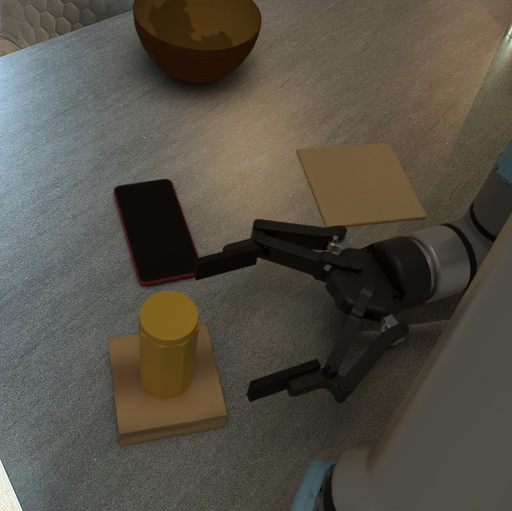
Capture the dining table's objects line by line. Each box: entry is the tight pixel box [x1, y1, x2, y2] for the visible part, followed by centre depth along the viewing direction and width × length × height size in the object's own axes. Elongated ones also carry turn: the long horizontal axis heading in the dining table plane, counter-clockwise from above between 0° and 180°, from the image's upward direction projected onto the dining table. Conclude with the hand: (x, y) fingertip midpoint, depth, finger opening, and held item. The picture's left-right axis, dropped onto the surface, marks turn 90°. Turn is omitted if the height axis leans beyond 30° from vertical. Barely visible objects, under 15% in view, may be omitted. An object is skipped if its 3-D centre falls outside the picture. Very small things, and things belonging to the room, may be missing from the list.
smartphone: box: [112, 178, 200, 286], centre depth 74 cm, size 7×1×15 cm
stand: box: [107, 323, 228, 447], centre depth 59 cm, size 10×10×8 cm
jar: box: [137, 290, 200, 399], centre depth 56 cm, size 5×5×11 cm
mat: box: [295, 142, 428, 227], centre depth 84 cm, size 14×14×1 cm
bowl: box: [132, 0, 263, 86], centre depth 90 cm, size 18×18×10 cm
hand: (220, 327), depth 57 cm, fingers open, 13 cm apart
